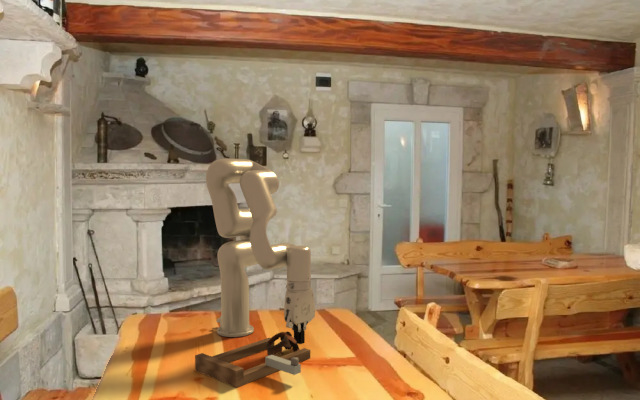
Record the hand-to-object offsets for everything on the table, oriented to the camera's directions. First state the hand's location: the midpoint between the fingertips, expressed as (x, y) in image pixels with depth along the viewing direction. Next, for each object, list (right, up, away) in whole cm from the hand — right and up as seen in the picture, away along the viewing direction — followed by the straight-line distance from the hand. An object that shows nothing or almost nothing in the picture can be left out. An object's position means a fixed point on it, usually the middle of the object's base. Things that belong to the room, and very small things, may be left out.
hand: (299, 342), depth 167 cm
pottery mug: (-4, -2, -7) cm, 8 cm away
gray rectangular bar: (-3, 0, -25) cm, 25 cm away
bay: (-12, -2, -14) cm, 18 cm away
